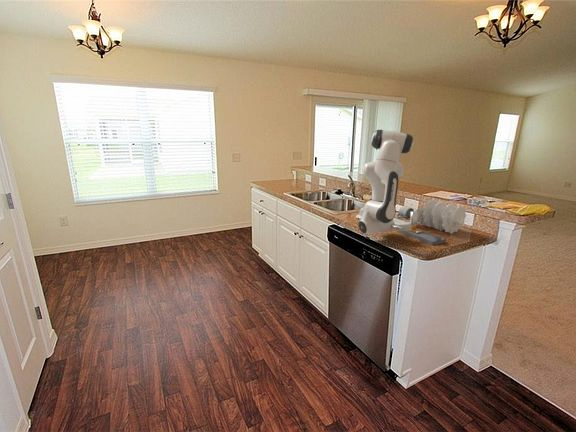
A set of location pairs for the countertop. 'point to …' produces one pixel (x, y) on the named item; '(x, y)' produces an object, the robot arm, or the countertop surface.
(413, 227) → the metal post on plate
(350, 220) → the countertop surface
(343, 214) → the countertop surface
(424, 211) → the spiral staircase
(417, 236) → the board
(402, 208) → the ceramic mug
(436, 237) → the hook
